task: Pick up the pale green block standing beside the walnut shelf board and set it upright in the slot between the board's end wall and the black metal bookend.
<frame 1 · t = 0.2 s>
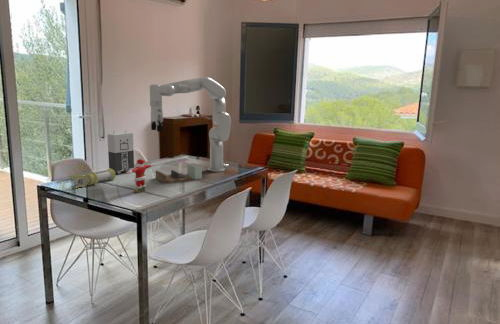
hand: (156, 130, 243), 31 cm above the table, tool pointing down, fingers open, 9 cm apart
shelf: (173, 179, 243), on the table
pale green block: (194, 177, 251), on the table
santa figurine: (140, 191, 213), on the table
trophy: (93, 185, 226), on the table
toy: (122, 173, 258), on the table
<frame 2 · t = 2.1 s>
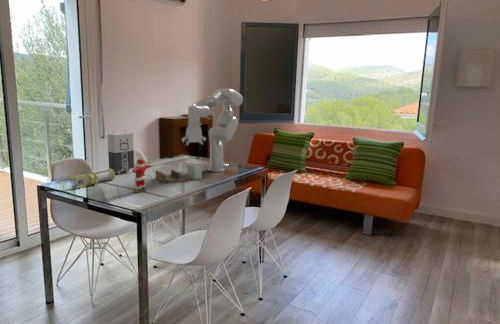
hand: (193, 150, 247), 18 cm above the table, tool pointing down, fingers open, 9 cm apart
nothing on the table moved.
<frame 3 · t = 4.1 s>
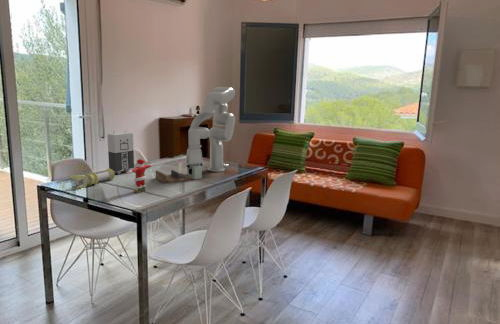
hand: (194, 173, 250), 2 cm above the table, tool pointing down, fingers closed on pale green block, 5 cm apart
pale green block: (194, 176, 251), on the table, touching gripper
everything else where it was.
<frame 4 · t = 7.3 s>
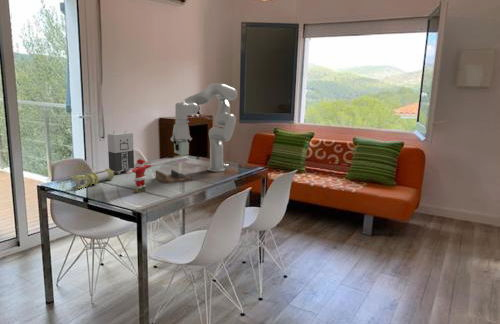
hand: (181, 150, 242), 19 cm above the table, tool pointing down, fingers closed on pale green block, 5 cm apart
pale green block: (181, 153, 243), point 17 cm above the table, touching gripper
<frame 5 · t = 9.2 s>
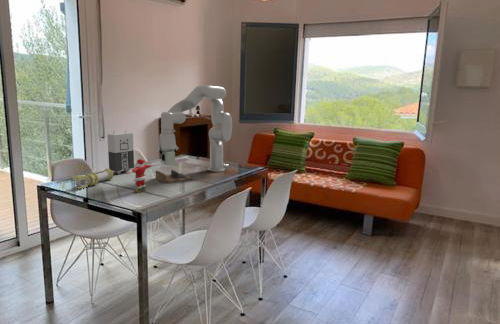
hand: (167, 159, 238), 13 cm above the table, tool pointing down, fingers closed on pale green block, 5 cm apart
pale green block: (167, 163, 239), point 11 cm above the table, touching gripper
when the fingers open (6 cm above the table, at t = 10.9 s): pale green block drops 2 cm, resting on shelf.
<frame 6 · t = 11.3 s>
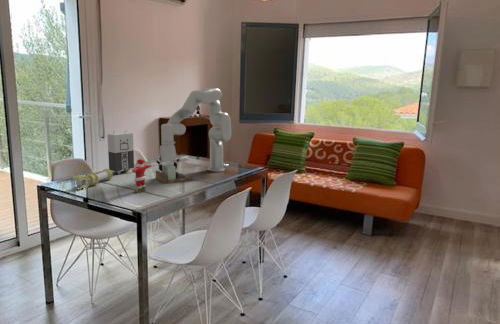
hand: (168, 169, 240), 7 cm above the table, tool pointing down, fingers open, 9 cm apart
pale green block: (168, 177, 241), point 1 cm above the table, touching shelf
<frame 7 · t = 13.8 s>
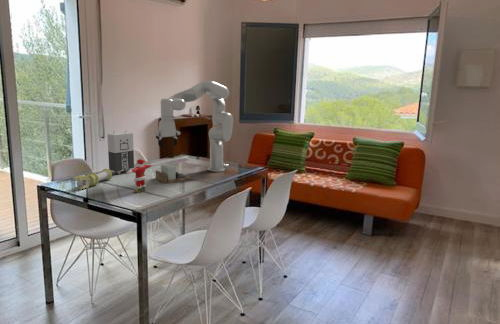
hand: (167, 145, 237), 22 cm above the table, tool pointing down, fingers open, 9 cm apart
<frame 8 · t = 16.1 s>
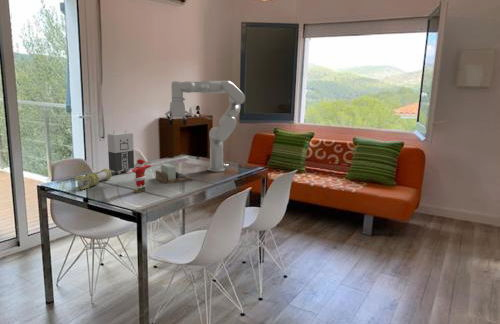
hand: (177, 125, 255), 33 cm above the table, tool pointing down, fingers open, 9 cm apart
at the end: pale green block 0.2 cm from the target spot on the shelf, point 1.5 cm above the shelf's base; pale green block tilted 0°; the gripper is holding nothing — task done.
